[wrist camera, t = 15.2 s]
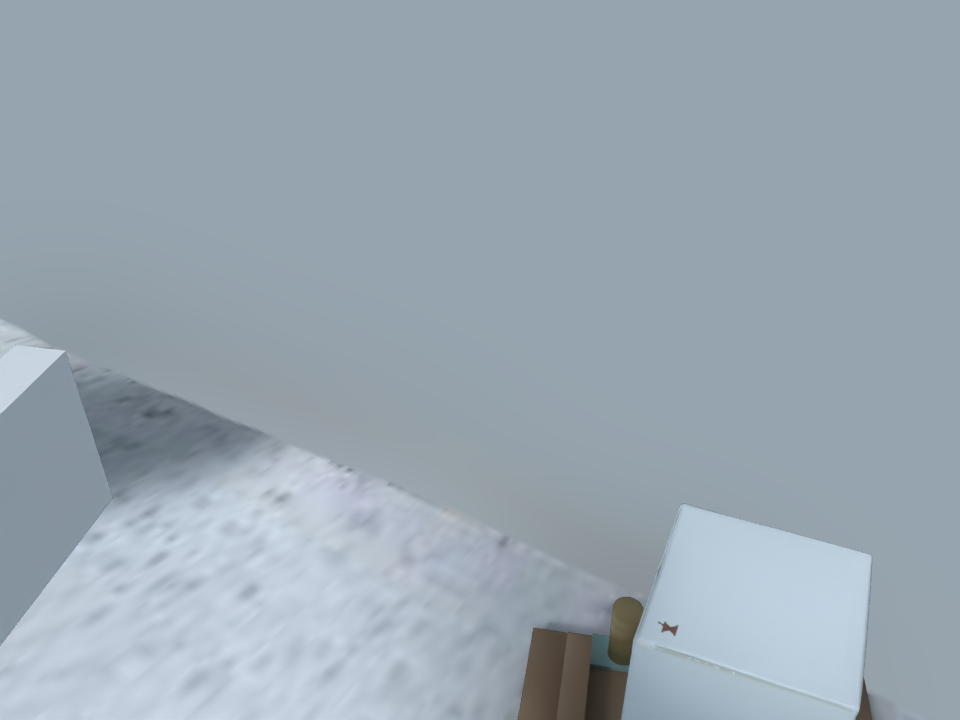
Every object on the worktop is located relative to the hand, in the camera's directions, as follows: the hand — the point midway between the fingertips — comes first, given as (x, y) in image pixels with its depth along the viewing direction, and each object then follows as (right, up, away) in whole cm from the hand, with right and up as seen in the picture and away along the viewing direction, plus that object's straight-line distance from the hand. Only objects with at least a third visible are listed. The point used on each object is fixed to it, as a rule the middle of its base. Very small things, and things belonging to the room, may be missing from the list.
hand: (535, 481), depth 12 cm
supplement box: (+9, -17, +26) cm, 33 cm away
